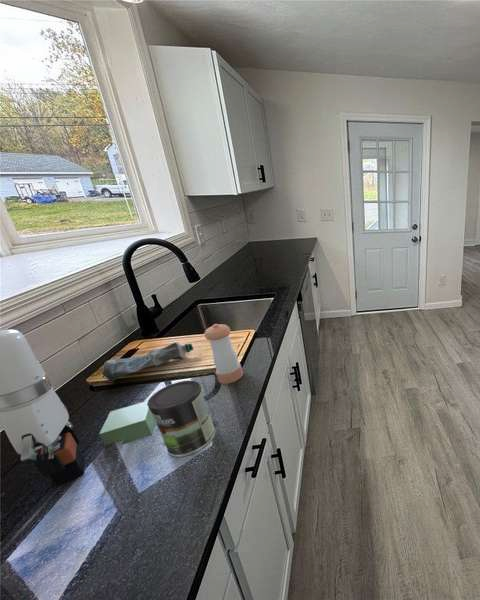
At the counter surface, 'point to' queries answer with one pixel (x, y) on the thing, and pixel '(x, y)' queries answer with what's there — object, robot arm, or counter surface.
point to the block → (128, 424)
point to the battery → (67, 459)
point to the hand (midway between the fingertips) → (63, 458)
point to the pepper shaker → (223, 354)
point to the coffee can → (182, 418)
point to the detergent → (144, 361)
